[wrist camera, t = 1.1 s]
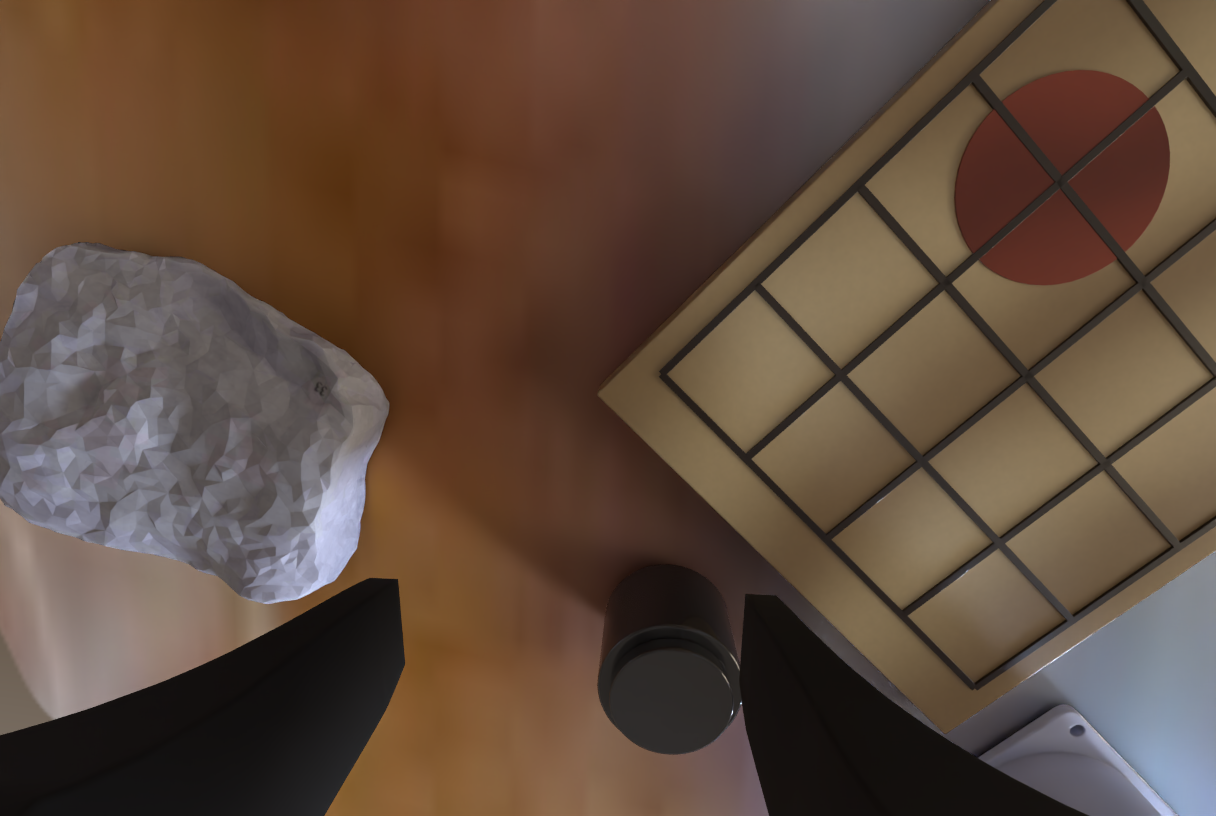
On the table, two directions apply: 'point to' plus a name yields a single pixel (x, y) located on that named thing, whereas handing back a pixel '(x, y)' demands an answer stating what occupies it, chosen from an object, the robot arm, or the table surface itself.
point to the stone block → (183, 421)
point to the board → (973, 352)
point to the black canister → (668, 661)
